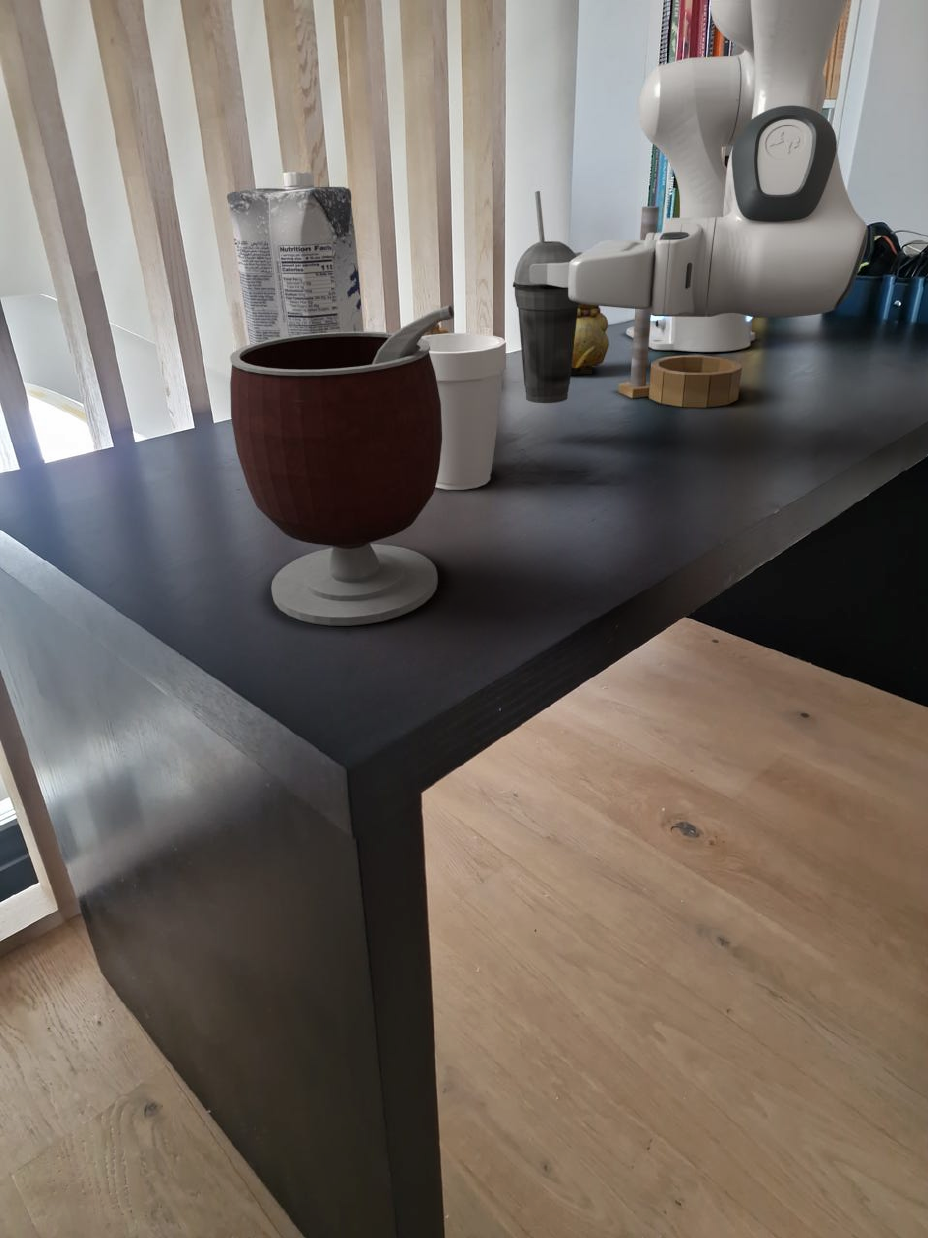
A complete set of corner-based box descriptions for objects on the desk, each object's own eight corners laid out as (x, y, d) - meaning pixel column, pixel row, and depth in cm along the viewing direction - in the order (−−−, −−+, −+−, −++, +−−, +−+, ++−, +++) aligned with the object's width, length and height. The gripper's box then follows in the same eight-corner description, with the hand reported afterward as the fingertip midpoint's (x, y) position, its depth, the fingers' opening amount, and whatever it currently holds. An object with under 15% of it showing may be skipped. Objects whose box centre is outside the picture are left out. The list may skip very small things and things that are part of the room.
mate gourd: (222, 614, 58) (164, 316, 49) (320, 538, 70) (289, 285, 60) (424, 649, 53) (404, 325, 44) (494, 562, 65) (490, 289, 55)
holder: (618, 392, 109) (629, 206, 99) (702, 381, 113) (721, 201, 102) (665, 413, 100) (683, 210, 89) (755, 401, 104) (782, 204, 93)
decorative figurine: (594, 363, 125) (599, 255, 118) (619, 374, 118) (627, 260, 111) (535, 369, 122) (536, 259, 115) (557, 381, 116) (560, 265, 108)
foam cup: (460, 457, 88) (456, 329, 81) (525, 476, 82) (526, 340, 75) (391, 480, 82) (381, 344, 75) (456, 503, 76) (451, 358, 70)
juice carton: (344, 470, 85) (313, 172, 72) (257, 461, 88) (211, 175, 75) (381, 445, 92) (359, 169, 79) (299, 437, 96) (264, 172, 82)
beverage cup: (577, 407, 86) (584, 190, 76) (508, 405, 87) (506, 192, 78) (582, 390, 92) (589, 188, 83) (518, 389, 93) (517, 190, 84)
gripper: (689, 223, 87) (559, 225, 91) (675, 241, 70) (516, 243, 74) (683, 287, 90) (558, 287, 94) (668, 320, 73) (516, 317, 77)
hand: (539, 268), depth 84 cm, fingers closed on beverage cup, 7 cm apart
